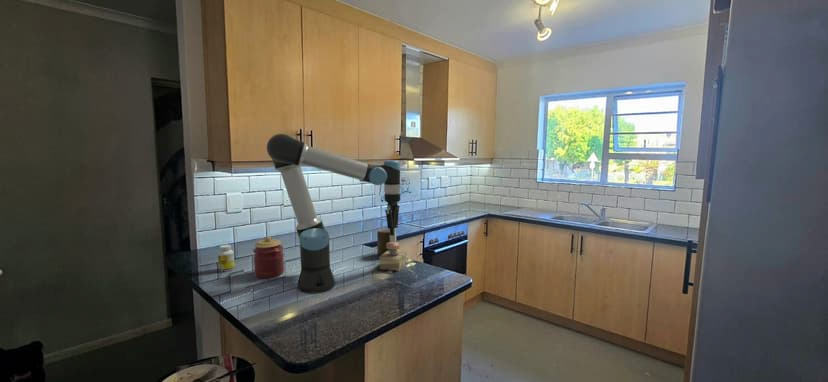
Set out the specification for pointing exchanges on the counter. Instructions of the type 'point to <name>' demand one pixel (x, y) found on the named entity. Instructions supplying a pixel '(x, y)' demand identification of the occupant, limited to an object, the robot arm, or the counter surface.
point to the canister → (268, 258)
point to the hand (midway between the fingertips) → (393, 241)
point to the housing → (392, 261)
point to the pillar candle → (382, 240)
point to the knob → (393, 248)
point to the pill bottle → (226, 258)
